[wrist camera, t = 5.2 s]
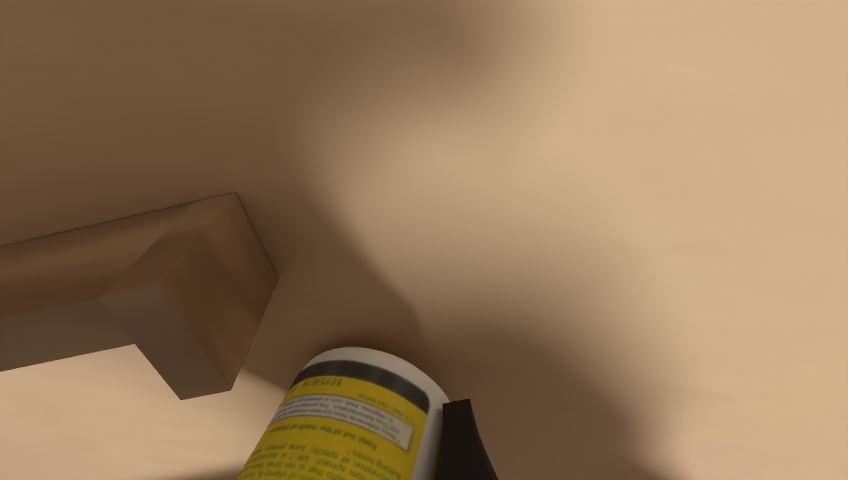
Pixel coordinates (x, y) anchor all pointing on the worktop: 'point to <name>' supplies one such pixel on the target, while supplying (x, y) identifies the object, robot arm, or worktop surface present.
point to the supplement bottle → (353, 422)
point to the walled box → (142, 293)
